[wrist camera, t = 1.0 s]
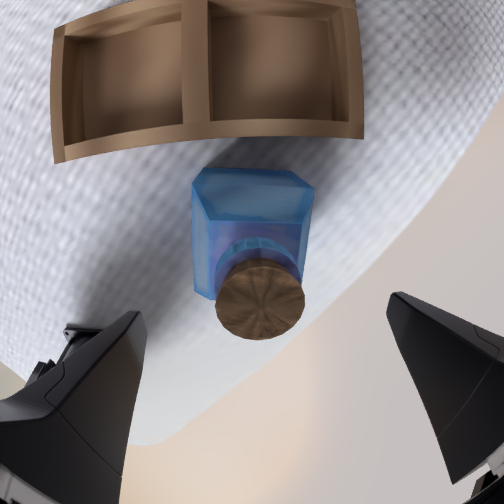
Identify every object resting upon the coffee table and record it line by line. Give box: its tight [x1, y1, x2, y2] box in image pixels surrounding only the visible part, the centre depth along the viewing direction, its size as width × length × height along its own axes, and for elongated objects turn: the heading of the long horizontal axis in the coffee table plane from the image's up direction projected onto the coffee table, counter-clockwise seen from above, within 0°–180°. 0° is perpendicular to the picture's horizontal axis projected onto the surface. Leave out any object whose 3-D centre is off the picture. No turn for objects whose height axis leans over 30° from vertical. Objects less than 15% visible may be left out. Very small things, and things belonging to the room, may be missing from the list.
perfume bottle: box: [192, 168, 314, 340], centre depth 15 cm, size 6×6×12 cm
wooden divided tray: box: [50, 0, 364, 164], centre depth 14 cm, size 20×10×4 cm, turn 92°
